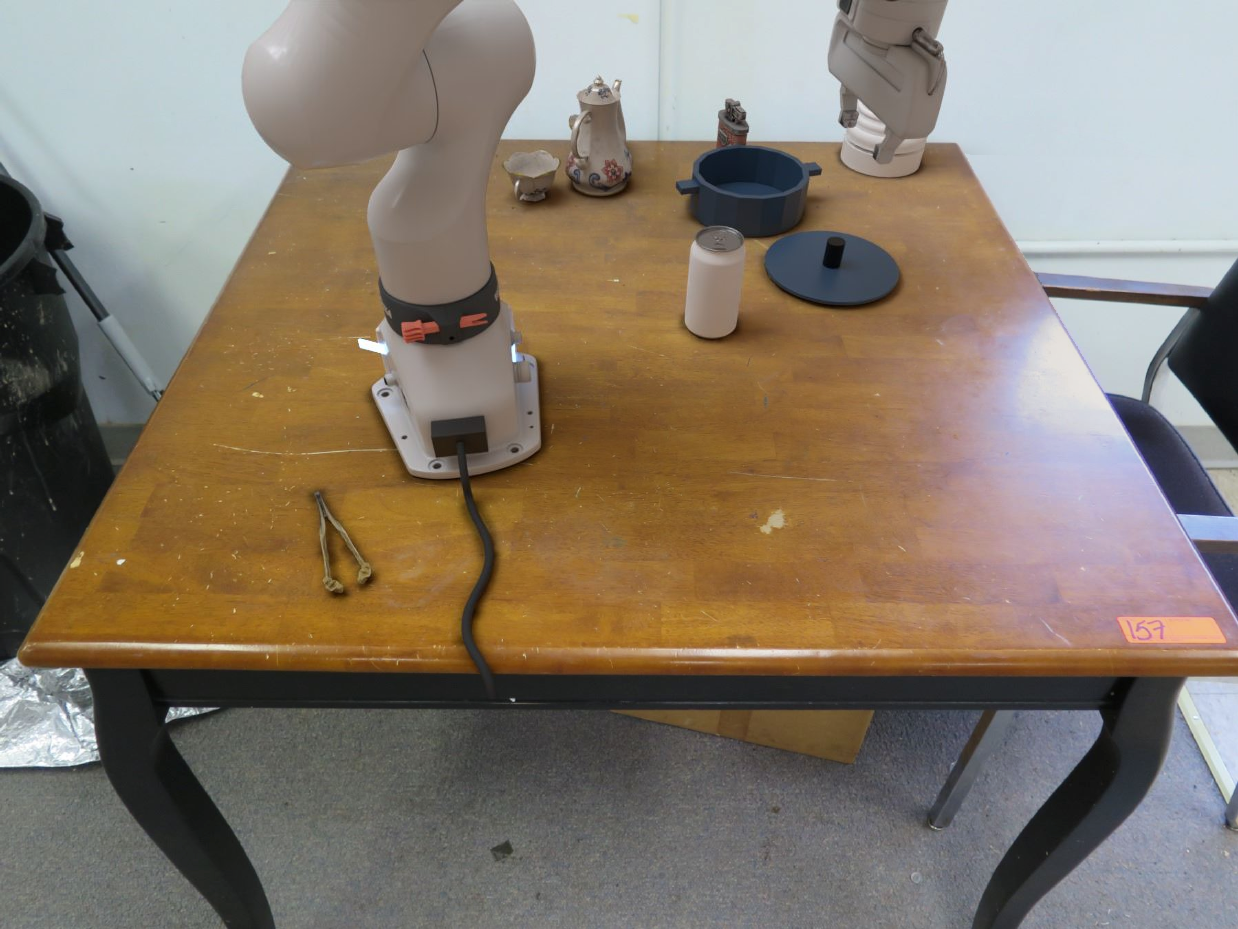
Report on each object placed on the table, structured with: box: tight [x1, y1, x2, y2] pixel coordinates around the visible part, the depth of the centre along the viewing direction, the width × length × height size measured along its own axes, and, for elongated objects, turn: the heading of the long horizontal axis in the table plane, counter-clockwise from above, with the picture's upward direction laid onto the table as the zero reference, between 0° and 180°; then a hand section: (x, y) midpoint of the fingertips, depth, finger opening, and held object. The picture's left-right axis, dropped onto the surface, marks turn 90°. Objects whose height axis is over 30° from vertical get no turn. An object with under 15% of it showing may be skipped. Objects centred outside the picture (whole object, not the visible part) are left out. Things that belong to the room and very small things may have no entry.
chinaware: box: [501, 74, 634, 202], centre depth 119 cm, size 28×17×17 cm, turn 154°
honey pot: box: [840, 100, 929, 178], centre depth 124 cm, size 13×13×18 cm
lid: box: [764, 230, 900, 306], centre depth 105 cm, size 18×18×5 cm
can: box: [684, 226, 747, 340], centre depth 94 cm, size 6×6×12 cm
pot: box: [675, 144, 823, 238], centre depth 116 cm, size 17×22×6 cm
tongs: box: [314, 490, 372, 594], centre depth 73 cm, size 4×13×2 cm, turn 33°
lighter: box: [715, 97, 750, 149], centre depth 125 cm, size 8×3×10 cm, turn 17°
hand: (863, 142), depth 92 cm, fingers open, 8 cm apart
